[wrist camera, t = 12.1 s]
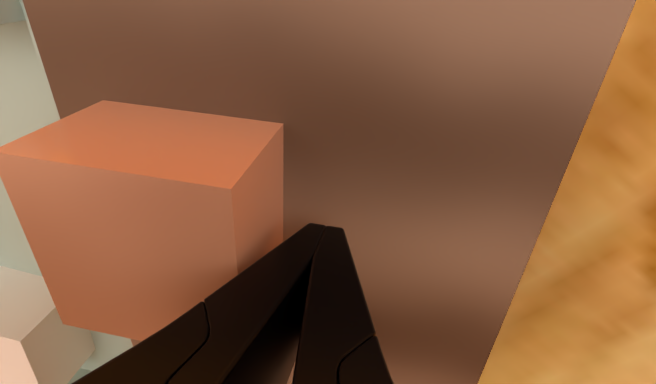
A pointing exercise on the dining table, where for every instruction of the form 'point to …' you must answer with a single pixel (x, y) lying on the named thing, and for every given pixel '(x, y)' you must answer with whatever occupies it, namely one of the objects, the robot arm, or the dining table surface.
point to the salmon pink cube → (144, 209)
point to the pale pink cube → (36, 334)
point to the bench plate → (375, 130)
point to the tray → (17, 121)
